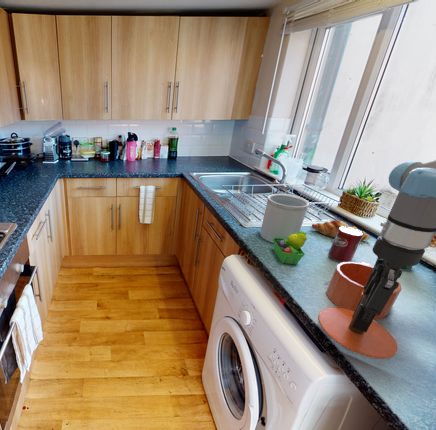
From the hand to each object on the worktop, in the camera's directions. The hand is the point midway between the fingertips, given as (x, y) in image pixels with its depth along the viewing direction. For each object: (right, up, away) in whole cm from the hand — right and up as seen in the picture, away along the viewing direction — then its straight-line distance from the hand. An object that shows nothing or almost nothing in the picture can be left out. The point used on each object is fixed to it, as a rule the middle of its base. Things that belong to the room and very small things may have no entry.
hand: (359, 323), depth 70 cm
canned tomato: (+44, +8, +35) cm, 57 cm away
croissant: (+38, +18, +54) cm, 69 cm away
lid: (0, -2, +1) cm, 3 cm away
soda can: (+25, +10, +38) cm, 47 cm away
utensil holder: (+9, +17, +52) cm, 56 cm away
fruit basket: (+5, +11, +38) cm, 40 cm away
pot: (+13, +1, +16) cm, 21 cm away
